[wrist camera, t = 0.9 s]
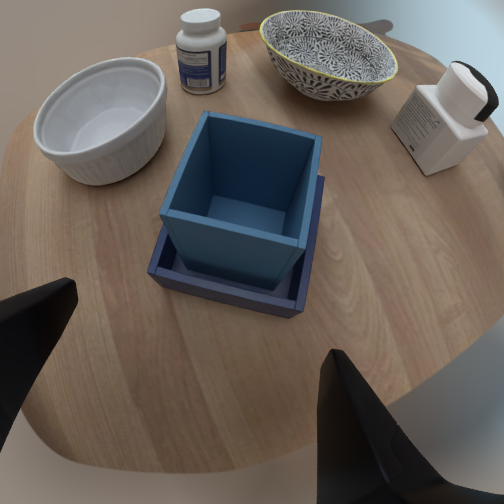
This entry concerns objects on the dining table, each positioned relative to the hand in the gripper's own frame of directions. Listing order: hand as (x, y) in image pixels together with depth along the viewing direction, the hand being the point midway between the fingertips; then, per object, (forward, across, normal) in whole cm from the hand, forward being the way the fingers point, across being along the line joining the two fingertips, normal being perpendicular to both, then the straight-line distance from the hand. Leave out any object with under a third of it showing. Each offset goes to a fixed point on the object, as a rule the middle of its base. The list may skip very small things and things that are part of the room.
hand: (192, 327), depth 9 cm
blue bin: (+15, 0, +4) cm, 15 cm away
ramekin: (+21, +15, -1) cm, 26 cm away
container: (+29, -19, -8) cm, 36 cm away
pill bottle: (+29, +9, -9) cm, 32 cm away
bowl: (+32, -4, -12) cm, 34 cm away
